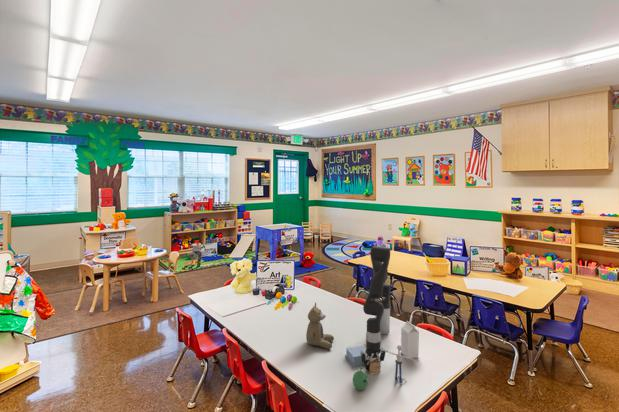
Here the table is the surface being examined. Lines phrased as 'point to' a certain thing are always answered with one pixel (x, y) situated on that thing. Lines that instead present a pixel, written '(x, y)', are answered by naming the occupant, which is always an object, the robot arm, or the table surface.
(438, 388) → the table surface
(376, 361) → the walnut block
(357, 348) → the pedestal
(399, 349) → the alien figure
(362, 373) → the alien toy
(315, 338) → the bear
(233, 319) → the table surface
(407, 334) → the milk carton
